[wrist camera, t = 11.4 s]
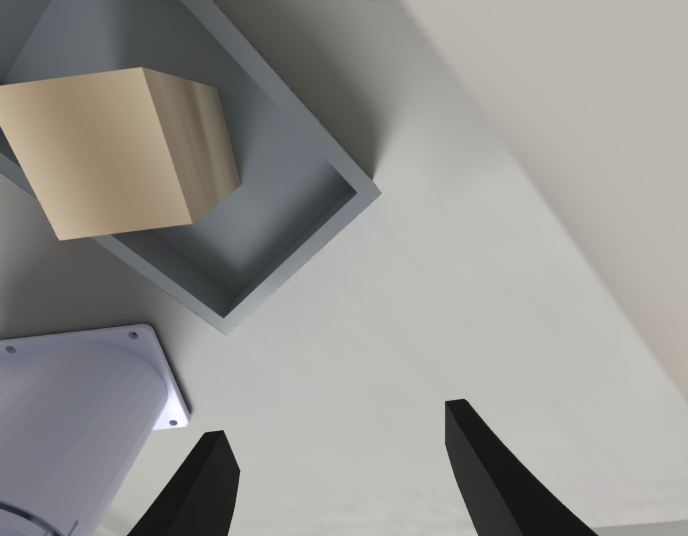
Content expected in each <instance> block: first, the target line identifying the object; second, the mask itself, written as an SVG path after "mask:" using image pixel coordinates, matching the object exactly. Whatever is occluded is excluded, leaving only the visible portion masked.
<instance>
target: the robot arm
mask: <svg viewBox="0 0 688 536" xmlns="http://www.w3.org/2000/svg"><path fill="white" fill-rule="evenodd" d="M133 332H135V333H136V334H137V335H135V334H133ZM190 419H191V417H190V414H189V412H188V410H187V407H186V405H185V403H184V400H183V398H182V396H181V393H180V391H179V388H178V386H177V384H176V381H175V379H174V377H173V374H172V372H171V370H170V367H169V365H168V363H167V360H166V358H165V356H164V353H163V351H162V349H161V346H160V344H159V342H158V339H157V337H156V335H155V332H154V330H153V328H152V327H150V326H149V325H147V324H137V325H128V326H120V327H111V328H102V329H94V330H85V331H77V332H68V333H59V334H51V335H42V336H33V337H25V338H16V339H8V340H0V536H93V534H94V532H95V530H96V529H97V527H98V525H99V523H100V522H101V520H102V518H103V516H104V514H105V513H106V511H107V509H108V507H109V506H110V504H111V502H112V500H113V498H114V497H115V495H116V493H117V491H118V490H119V488H120V486H121V484H122V483H123V481H124V479H125V477H126V475H127V474H128V472H129V470H130V468H131V467H132V465H133V463H134V461H135V460H136V458H137V456H138V454H139V452H140V451H141V449H142V447H143V445H144V444H145V442H146V440H147V438H148V436H149V435H150V433H151V431H152V430H159V429H168V428H177V427H184V426H187V425H188V424H189V422H190ZM445 445H446V449H447V452H448V456H449V459H450V462H451V466H452V469H453V472H454V476H455V479H456V482H457V484H458V487H459V489H460V492H461V494H462V497H463V499H464V502H465V504H466V507H467V509H468V512H469V514H470V517H471V519H472V522H473V524H474V527H475V529H476V531H477V534H478V536H598V535H597V534H596V533H595V532H594V531H592V530H591V529H590V528H589V527H588V526H587V525H586V524H585V523H583V522H582V521H581V520H580V519H579V518H578V517H577V516H576V515H574V514H573V513H572V512H571V511H570V510H569V509H568V508H567V507H566V506H565V505H564V504H562V503H561V502H560V501H559V500H558V499H557V498H556V497H555V496H554V495H553V494H552V493H551V492H550V491H549V490H548V489H547V488H546V487H545V486H544V485H543V484H542V483H541V482H540V481H539V480H538V479H537V478H536V477H535V476H534V475H533V474H532V473H531V472H530V471H529V470H528V469H527V468H526V467H525V466H524V465H523V464H522V463H521V462H520V461H519V460H518V459H517V458H516V457H515V456H514V454H513V453H512V452H511V451H510V450H509V449H508V448H507V447H506V446H505V445H504V444H503V443H502V441H501V440H500V439H499V438H498V437H497V436H496V435H495V434H494V432H493V431H492V430H491V429H490V428H489V427H488V426H487V424H486V423H485V422H484V421H483V420H482V418H481V417H480V416H479V415H478V414H477V412H476V411H475V410H474V409H473V407H472V406H471V405H470V404H469V402H468V401H467V400H465V399H459V400H451V401H445ZM239 476H240V469H239V467H238V464H237V462H236V459H235V457H234V454H233V452H232V450H231V447H230V445H229V442H228V440H227V438H226V435H225V433H224V430H221V431H213V432H205V433H204V434H203V436H202V437H201V438H200V440H199V441H198V442H197V444H196V445H195V447H194V448H193V449H192V451H191V452H190V453H189V455H188V456H187V458H186V459H185V460H184V462H183V463H182V465H181V466H180V467H179V469H178V470H177V471H176V473H175V474H174V476H173V477H172V478H171V480H170V481H169V482H168V484H167V485H166V486H165V488H164V489H163V490H162V492H161V493H160V494H159V496H158V497H157V498H156V500H155V501H154V502H153V504H152V505H151V506H150V507H149V509H148V510H147V511H146V513H145V514H144V515H143V516H142V518H141V519H140V520H139V521H138V523H137V524H136V525H135V526H134V528H133V529H132V530H131V531H130V533H129V534H128V535H127V536H228V532H229V528H230V524H231V520H232V516H233V512H234V508H235V503H236V496H237V490H238V483H239Z"/></svg>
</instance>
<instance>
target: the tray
mask: <svg viewBox="0 0 688 536" xmlns="http://www.w3.org/2000/svg"><path fill="white" fill-rule="evenodd" d="M138 67H143V68H147V69H150V70H154V71H158V72H161V73H165V74H169V75H172V76H176V77H179V78H183V79H187V80H190V81H194V82H198V83H201V84H205V85H209V86H212V87H216V88H217V89H218V93H219V97H220V102H221V106H222V110H223V114H224V118H225V122H226V126H227V130H228V134H229V138H230V142H231V146H232V150H233V154H234V158H235V162H236V166H237V170H238V174H239V178H240V183H241V186H240V187H239V188H238V189H236V190H235V191H234V192H232V193H231V194H230V195H229V196H227V197H226V198H225V199H223V200H222V201H221V202H220V203H218V204H217V205H216V206H214V207H213V208H212V209H211V210H209V211H208V212H207V213H205V214H204V215H203V216H202V217H200V218H199V219H198V220H196V221H195V222H194V223H193V224H186V225H178V226H170V227H162V228H154V229H146V230H138V231H131V232H123V233H115V234H107V235H99V236H91V237H90V238H92V239H93V240H94V241H96V242H97V243H98V244H100V245H101V246H103V247H104V248H105V249H107V250H108V251H110V252H111V253H112V254H114V255H115V256H116V257H118V258H119V259H121V260H122V261H123V262H125V263H126V264H127V265H129V266H130V267H132V268H133V269H134V270H136V271H137V272H139V273H140V274H141V275H143V276H144V277H145V278H147V279H148V280H150V281H151V282H152V283H154V284H155V285H156V286H158V287H159V288H161V289H162V290H163V291H165V292H166V293H167V294H169V295H170V296H172V297H173V298H174V299H176V300H177V301H179V302H180V303H181V304H183V305H184V306H185V307H187V308H188V309H190V310H191V311H192V312H194V313H195V314H196V315H198V316H199V317H201V318H202V319H203V320H205V321H206V322H207V323H209V324H210V325H212V326H213V327H214V328H216V329H217V330H219V331H220V332H221V333H223V334H224V335H225V336H226V335H228V334H229V333H230V332H231V331H232V330H233V329H234V328H235V327H236V326H237V325H238V324H240V323H241V322H242V321H243V320H244V319H245V318H246V317H247V316H248V315H249V314H251V313H252V312H253V311H254V310H255V309H256V308H257V307H258V306H259V305H260V304H261V303H263V302H264V301H265V300H266V299H267V298H268V297H269V296H270V295H271V294H272V293H274V292H275V291H276V290H277V289H278V288H279V287H280V286H281V285H282V284H283V283H284V282H286V281H287V280H288V279H289V278H290V277H291V276H292V275H293V274H294V273H295V272H296V271H298V270H299V269H300V268H301V267H302V266H303V265H304V264H305V263H306V262H307V261H309V260H310V259H311V258H312V257H313V256H314V255H315V254H316V253H317V252H318V251H319V250H321V249H322V248H323V247H324V246H325V245H326V244H327V243H328V242H329V241H330V240H332V239H333V238H334V237H335V236H336V235H337V234H338V233H339V232H340V231H341V230H342V229H344V228H345V227H346V226H347V225H348V224H349V223H350V222H351V221H352V220H353V219H354V218H356V217H357V216H358V215H359V214H360V213H361V212H362V211H363V210H364V209H365V208H367V207H368V206H369V205H370V204H371V203H372V202H373V201H374V200H375V199H376V198H377V197H379V196H380V195H381V194H382V193H381V192H380V190H379V189H378V188H377V186H376V185H375V183H374V182H373V181H372V179H371V178H370V177H369V176H368V175H367V174H366V173H365V172H364V170H363V169H362V168H361V167H360V166H359V165H358V164H357V163H356V161H355V160H354V159H353V158H352V157H351V156H350V155H349V153H348V152H347V151H346V150H345V149H344V148H343V147H342V146H341V144H340V143H339V142H338V141H337V140H336V139H335V138H334V137H333V135H332V134H331V133H330V132H329V131H328V130H327V129H326V127H325V126H324V125H323V124H322V123H321V122H320V121H319V120H318V118H317V117H316V116H315V115H314V114H313V113H312V112H311V110H310V109H309V108H308V107H307V106H306V105H305V104H304V103H303V101H302V100H301V99H300V98H299V97H298V96H297V95H296V94H295V92H294V91H293V90H292V89H291V88H290V87H289V86H288V84H287V83H286V82H285V81H284V80H283V79H282V78H281V77H280V75H279V74H278V73H277V72H276V71H275V70H274V69H273V68H272V66H271V65H270V64H269V63H268V62H267V61H266V60H265V58H264V57H263V56H262V55H261V54H260V53H259V52H258V51H257V49H256V48H255V47H254V46H253V45H252V44H251V43H250V42H249V40H248V39H247V38H246V37H245V36H244V35H243V34H242V32H241V31H240V30H239V29H238V28H237V27H236V26H235V25H234V23H233V22H232V21H231V20H230V19H229V18H228V17H227V15H226V14H225V13H224V12H223V11H222V10H221V9H220V8H219V6H218V5H217V4H216V3H215V2H214V1H213V0H0V86H1V85H9V84H17V83H24V82H32V81H39V80H47V79H55V78H62V77H70V76H77V75H85V74H93V73H100V72H108V71H115V70H123V69H131V68H138ZM0 172H1V173H2V174H3V175H5V176H6V177H7V178H9V179H10V180H12V181H13V182H14V183H16V184H17V185H18V186H20V187H21V188H23V189H24V190H25V191H27V192H28V193H29V194H31V195H32V196H34V197H35V198H36V199H38V198H37V196H36V194H35V192H34V191H33V189H32V187H31V185H30V183H29V181H28V179H27V177H26V175H25V173H24V171H23V169H22V167H21V165H20V163H19V161H18V159H17V157H16V156H15V154H14V152H13V150H12V148H11V146H10V144H9V142H8V140H7V138H6V136H5V134H4V132H3V130H2V128H1V126H0Z"/></svg>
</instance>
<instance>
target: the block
mask: <svg viewBox="0 0 688 536" xmlns="http://www.w3.org/2000/svg"><path fill="white" fill-rule="evenodd" d="M0 126H1V128H2V130H3V132H4V134H5V136H6V138H7V140H8V142H9V144H10V146H11V148H12V150H13V152H14V154H15V156H16V157H17V159H18V161H19V163H20V165H21V167H22V169H23V171H24V173H25V175H26V177H27V179H28V181H29V183H30V185H31V187H32V189H33V191H34V192H35V194H36V196H37V198H38V200H39V202H40V204H41V206H42V208H43V210H44V212H45V214H46V216H47V218H48V220H49V222H50V224H51V226H52V227H53V229H54V231H55V233H56V235H57V237H58V239H59V241H60V240H68V239H76V238H84V237H91V236H99V235H107V234H115V233H123V232H131V231H138V230H146V229H154V228H162V227H170V226H178V225H186V224H193V223H194V222H195V221H196V220H198V219H199V218H200V217H202V216H203V215H204V214H205V213H207V212H208V211H209V210H211V209H212V208H213V207H214V206H216V205H217V204H218V203H220V202H221V201H222V200H223V199H225V198H226V197H227V196H229V195H230V194H231V193H232V192H234V191H235V190H236V189H238V188H239V187H240V186H241V183H240V178H239V174H238V170H237V166H236V162H235V158H234V154H233V150H232V146H231V142H230V138H229V134H228V130H227V126H226V122H225V118H224V114H223V110H222V106H221V102H220V97H219V93H218V89H217V88H216V87H212V86H209V85H205V84H201V83H198V82H194V81H190V80H187V79H183V78H179V77H176V76H172V75H169V74H165V73H161V72H158V71H154V70H150V69H147V68H143V67H138V68H131V69H123V70H115V71H108V72H100V73H93V74H85V75H77V76H70V77H62V78H55V79H47V80H39V81H32V82H24V83H17V84H9V85H1V86H0Z"/></svg>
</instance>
